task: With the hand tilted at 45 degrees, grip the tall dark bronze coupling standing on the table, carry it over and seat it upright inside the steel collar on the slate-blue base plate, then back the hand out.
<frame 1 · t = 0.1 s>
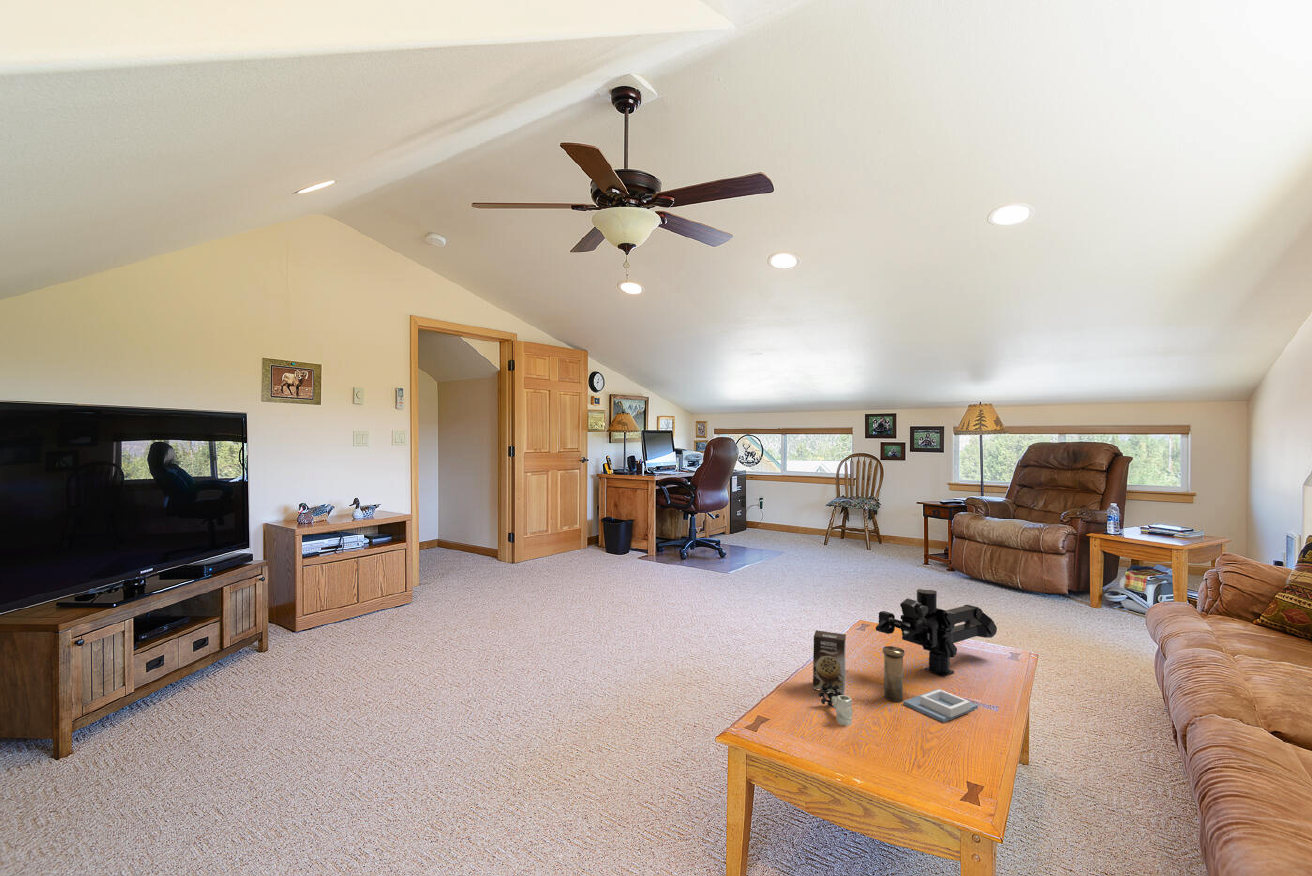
hand: (889, 633, 171), 17 cm above the table, tool horizontal, fingers open, 9 cm apart
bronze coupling: (893, 698, 164), on the table
cookie box: (829, 689, 170), on the table
collar plate: (940, 706, 159), on the table
valve: (837, 716, 153), on the table
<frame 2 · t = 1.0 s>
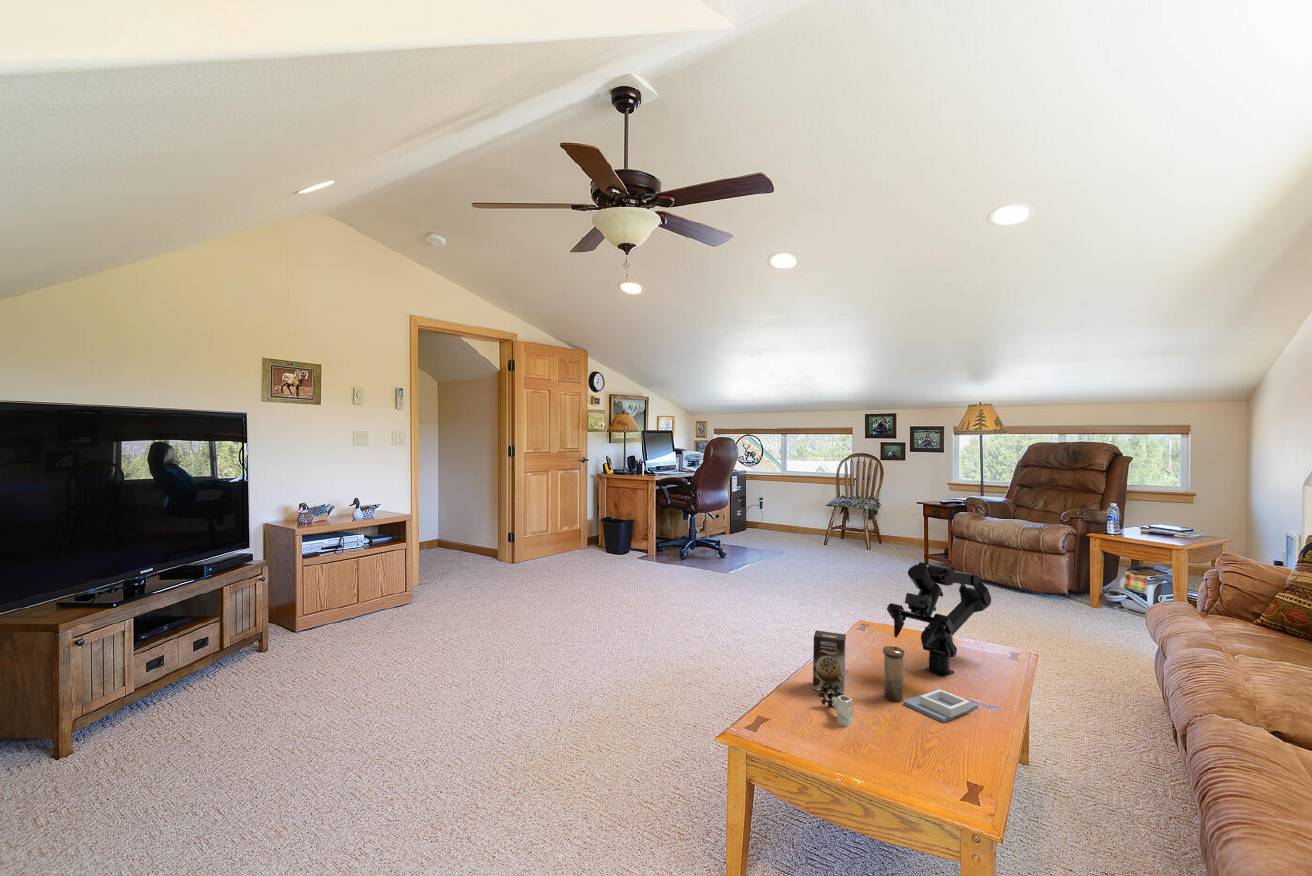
hand: (909, 640, 172), 14 cm above the table, tool tilted 45°, fingers open, 9 cm apart
nothing on the table moved.
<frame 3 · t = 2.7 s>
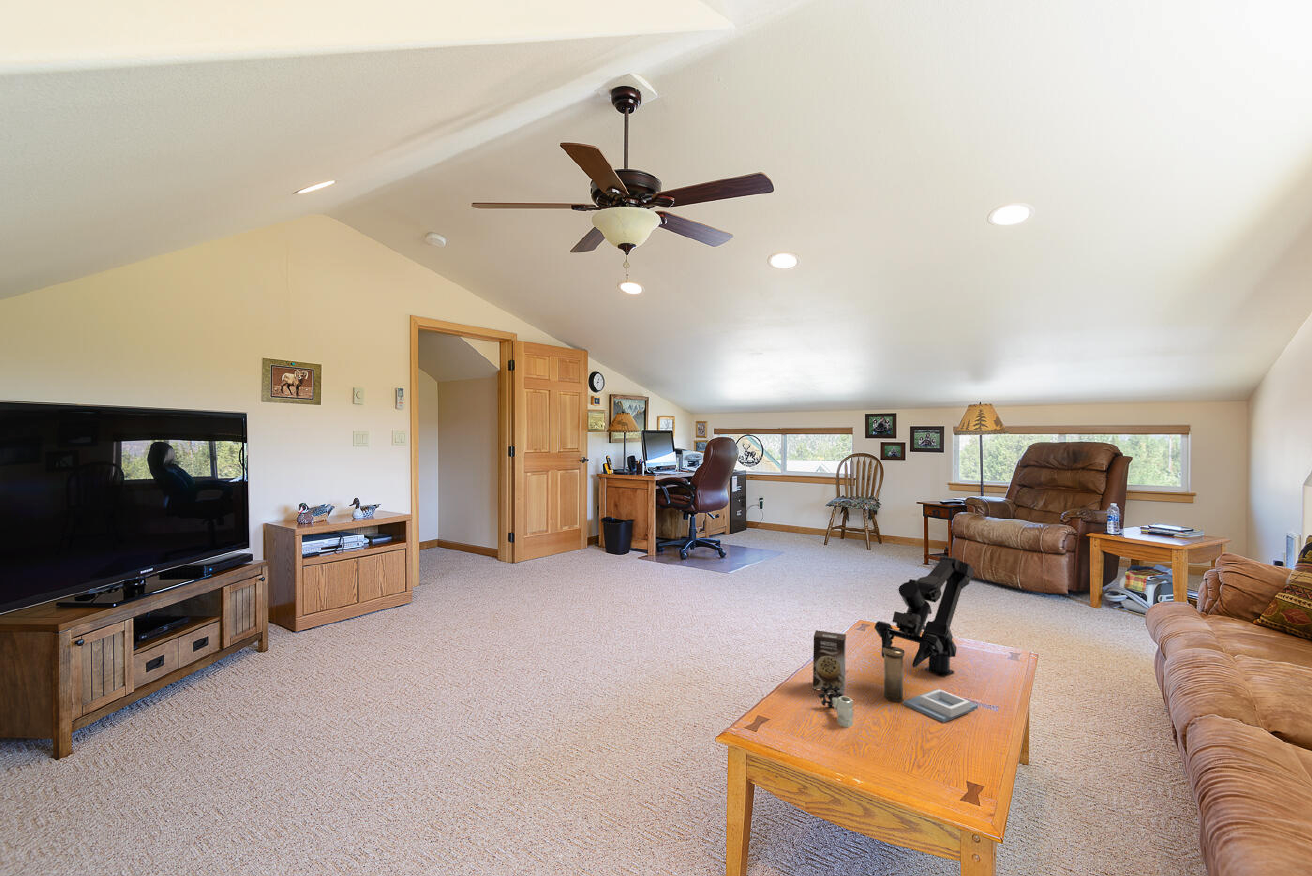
hand: (897, 661, 166), 10 cm above the table, tool tilted 45°, fingers open, 9 cm apart
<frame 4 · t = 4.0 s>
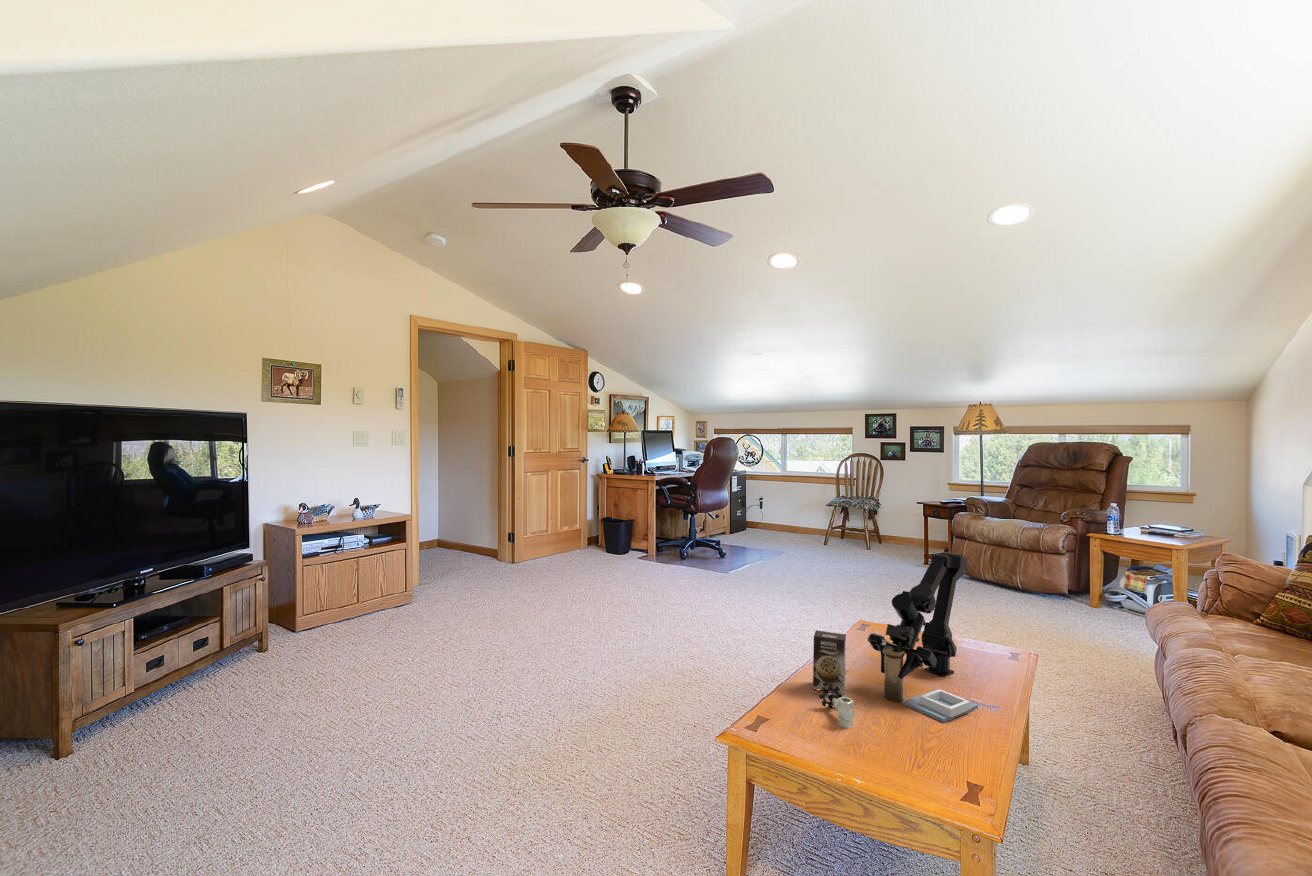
hand: (890, 675, 163), 7 cm above the table, tool tilted 45°, fingers closed on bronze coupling, 5 cm apart
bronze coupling: (893, 698, 164), on the table, touching gripper
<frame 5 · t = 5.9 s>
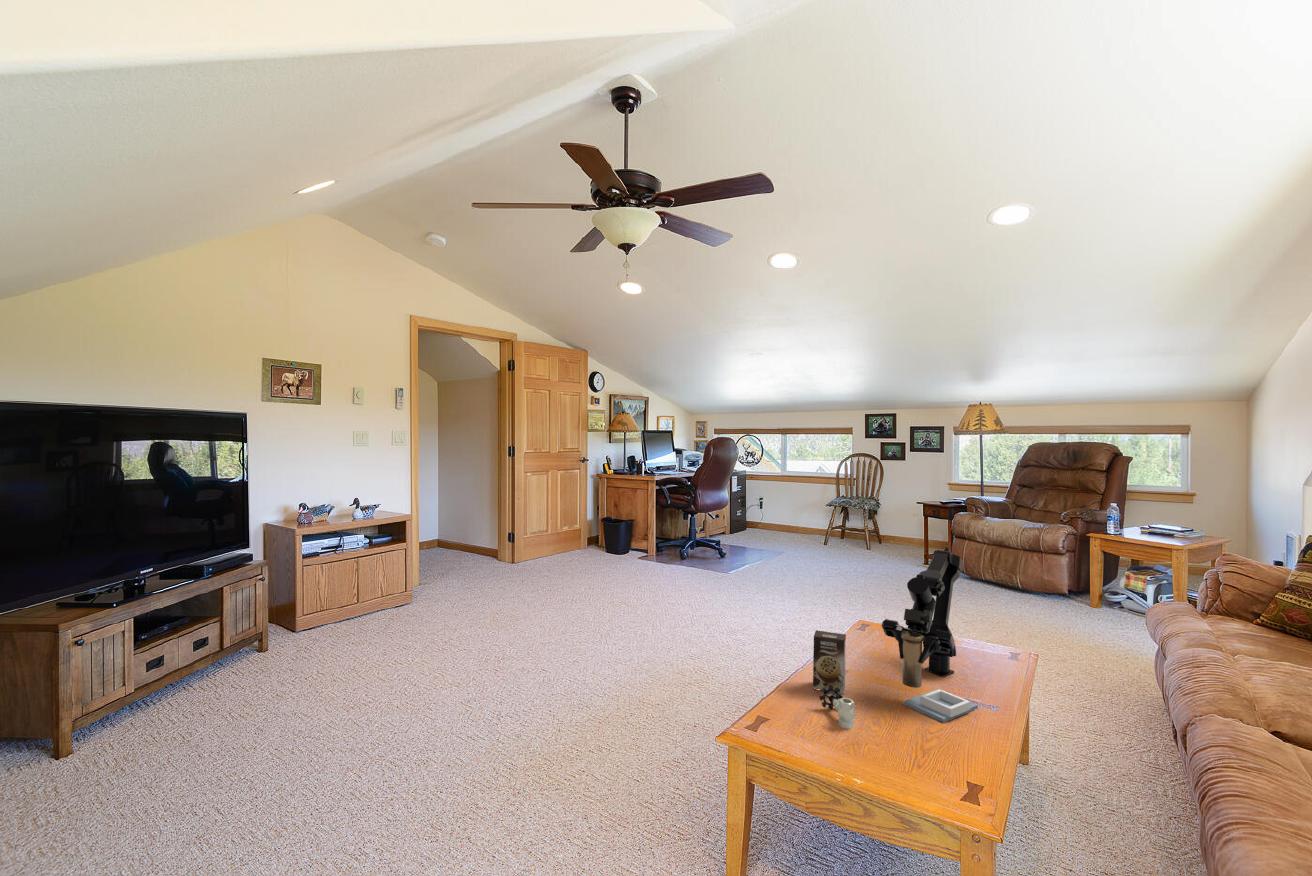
hand: (910, 660, 160), 12 cm above the table, tool tilted 45°, fingers closed on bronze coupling, 5 cm apart
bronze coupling: (911, 683, 161), point 5 cm above the table, touching gripper
when the fingers open (9 cm above the table, at t = 7.7 s): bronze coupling stays where it is, resting on collar plate.
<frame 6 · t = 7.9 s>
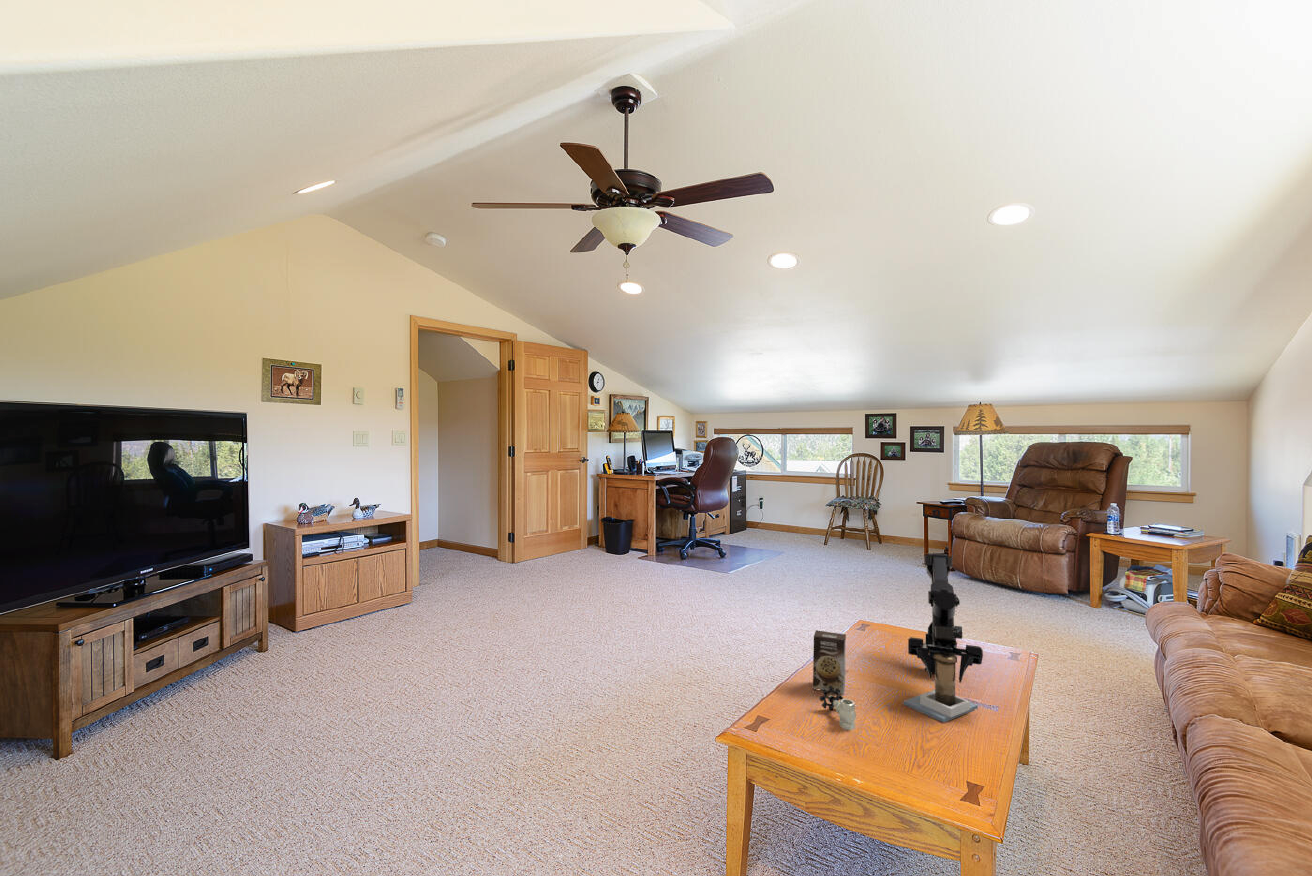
hand: (945, 679, 155), 9 cm above the table, tool tilted 45°, fingers open, 7 cm apart
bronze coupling: (945, 706, 157), point 1 cm above the table, touching collar plate
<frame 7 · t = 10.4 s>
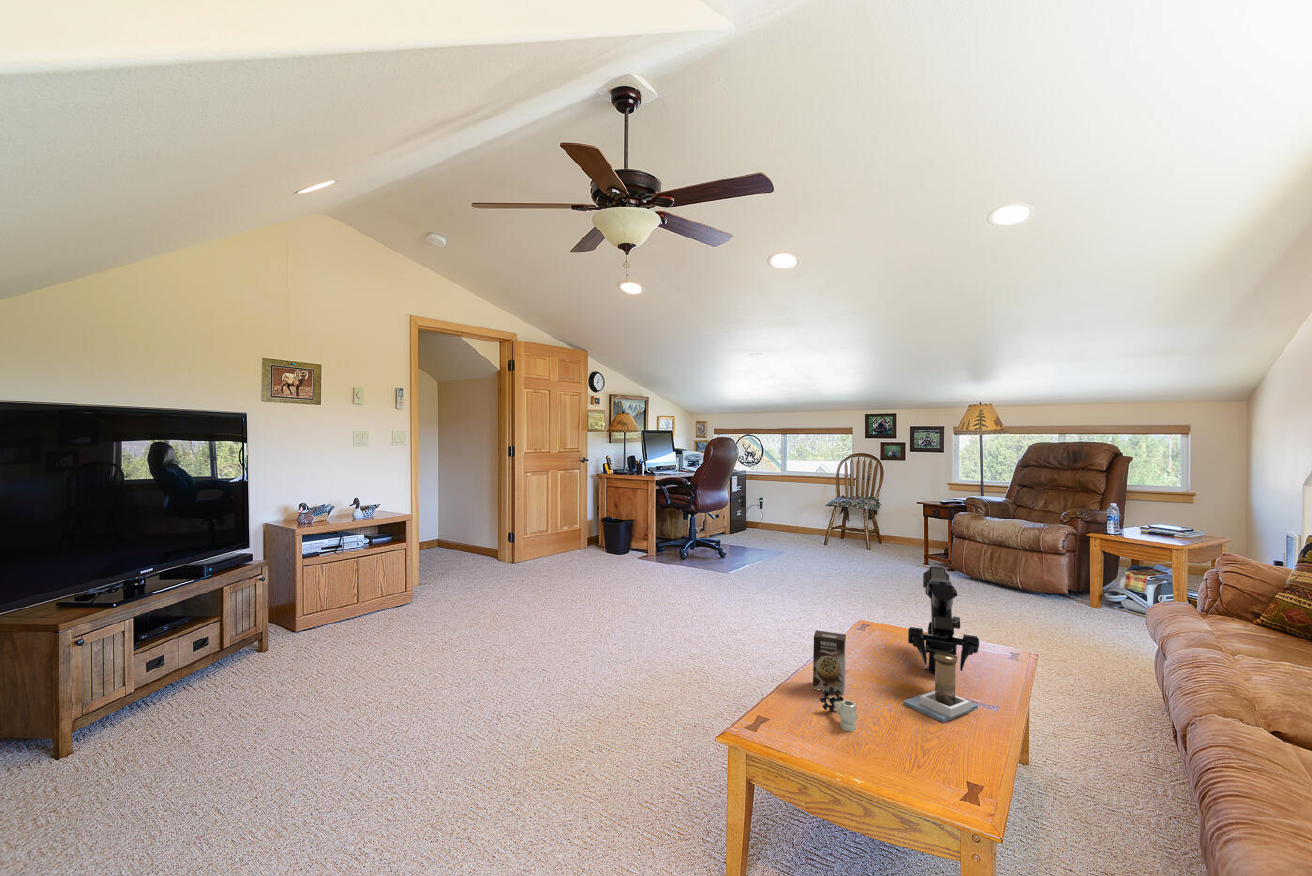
hand: (943, 667, 164), 9 cm above the table, tool tilted 45°, fingers open, 9 cm apart
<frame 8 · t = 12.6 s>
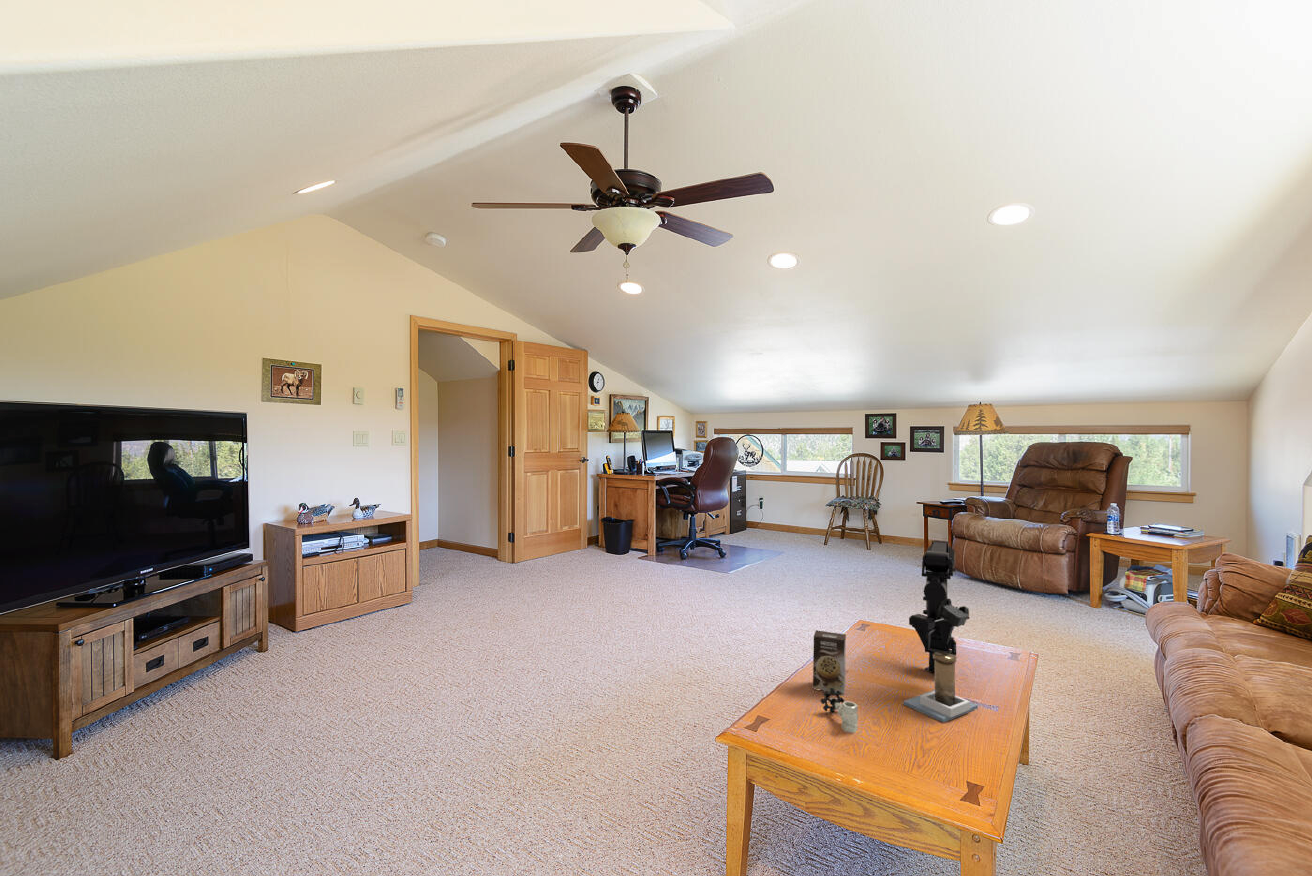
hand: (936, 646, 170), 13 cm above the table, tool pointing down, fingers open, 9 cm apart
at the end: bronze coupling 0.1 cm from the target spot on the collar plate, point 1.0 cm above the collar plate's base; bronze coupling tilted 1°; the gripper is holding nothing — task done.
